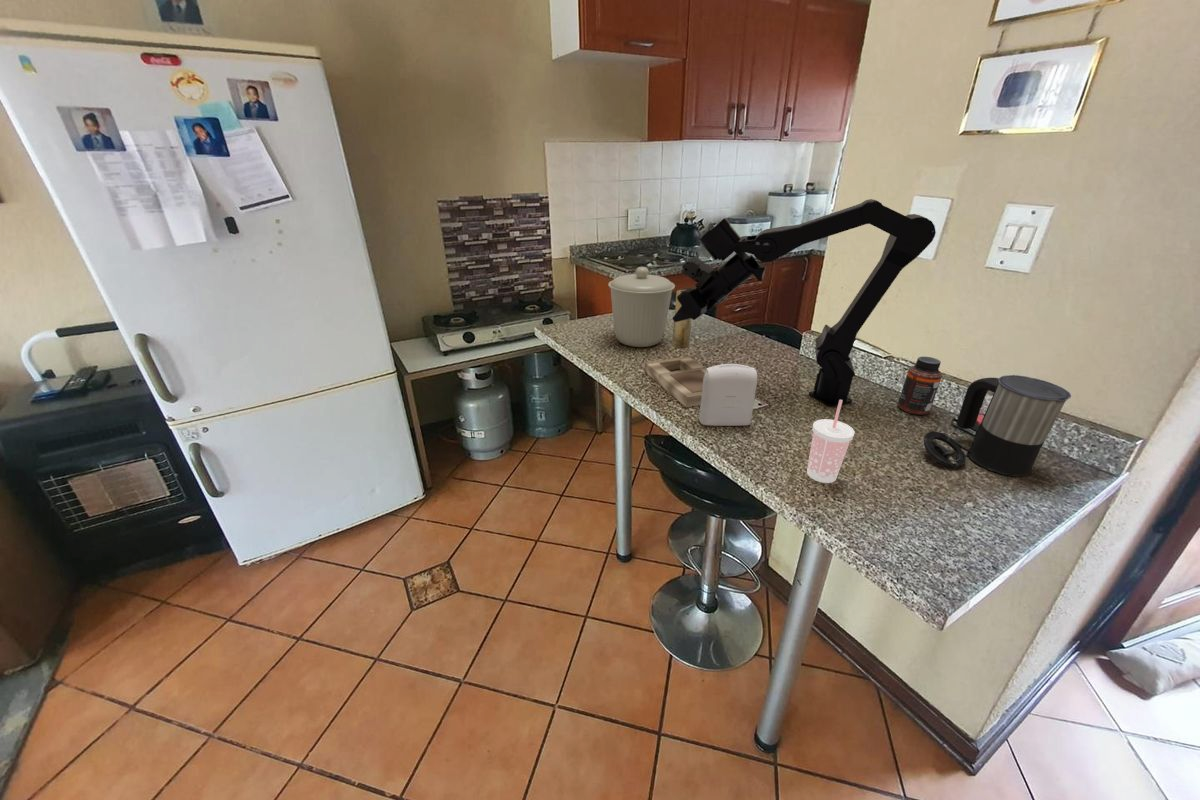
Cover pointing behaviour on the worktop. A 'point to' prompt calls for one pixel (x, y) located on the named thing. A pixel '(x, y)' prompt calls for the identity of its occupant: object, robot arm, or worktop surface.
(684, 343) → the cylinder
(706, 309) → the robot arm
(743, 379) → the photo printer
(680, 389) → the jig plate
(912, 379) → the supplement bottle
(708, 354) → the worktop surface
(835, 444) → the beverage cup
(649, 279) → the canister
